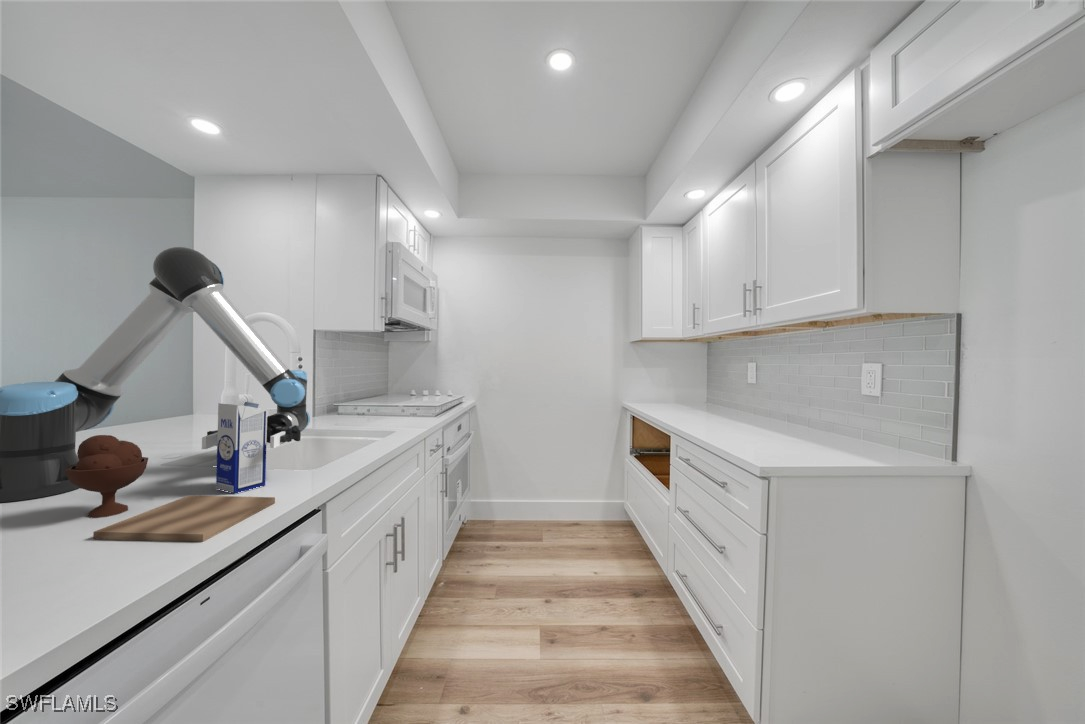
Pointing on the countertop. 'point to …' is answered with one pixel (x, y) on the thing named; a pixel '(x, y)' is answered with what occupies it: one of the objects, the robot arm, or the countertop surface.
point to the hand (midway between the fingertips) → (238, 442)
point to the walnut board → (186, 519)
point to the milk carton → (241, 447)
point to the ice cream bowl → (106, 470)
